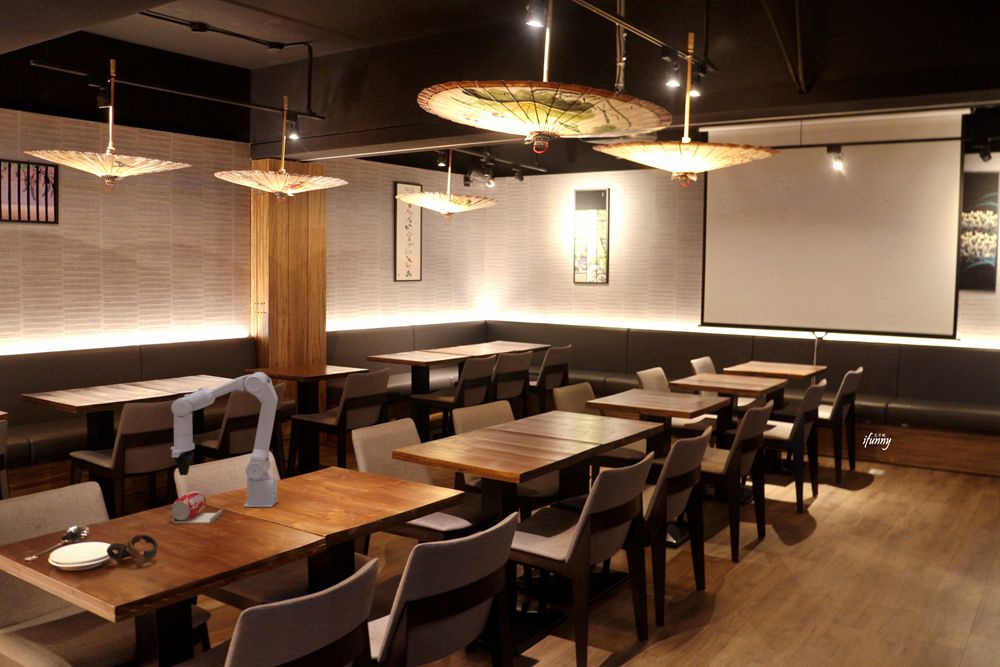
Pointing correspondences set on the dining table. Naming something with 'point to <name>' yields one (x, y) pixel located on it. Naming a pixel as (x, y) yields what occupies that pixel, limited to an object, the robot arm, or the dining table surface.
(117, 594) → the dining table surface
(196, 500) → the soda can
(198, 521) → the grey tray
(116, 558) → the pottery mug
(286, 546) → the dining table surface
